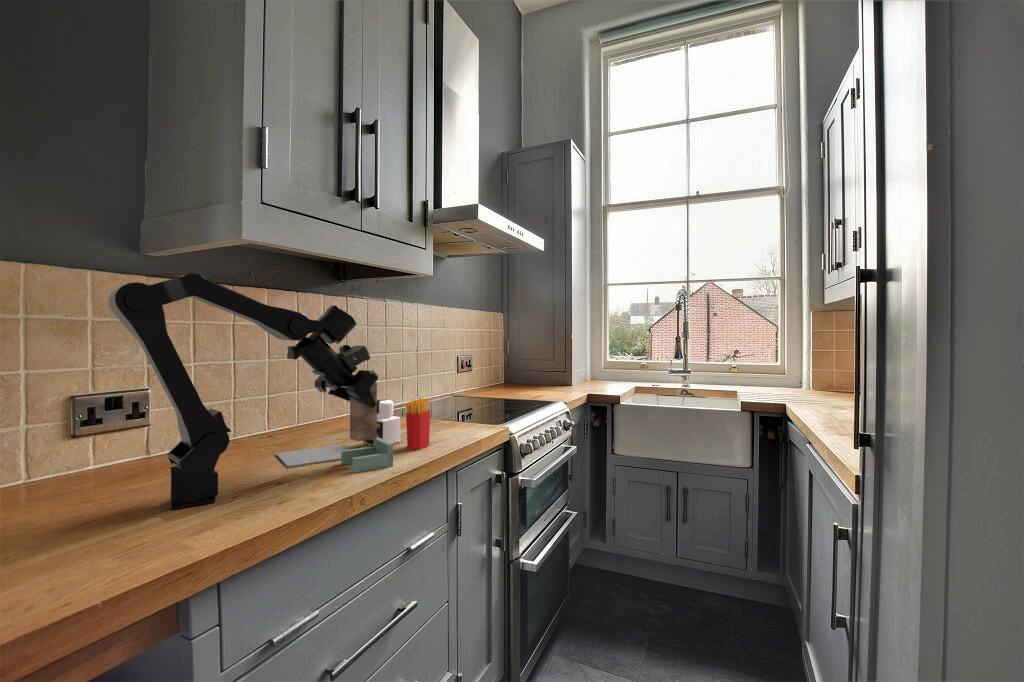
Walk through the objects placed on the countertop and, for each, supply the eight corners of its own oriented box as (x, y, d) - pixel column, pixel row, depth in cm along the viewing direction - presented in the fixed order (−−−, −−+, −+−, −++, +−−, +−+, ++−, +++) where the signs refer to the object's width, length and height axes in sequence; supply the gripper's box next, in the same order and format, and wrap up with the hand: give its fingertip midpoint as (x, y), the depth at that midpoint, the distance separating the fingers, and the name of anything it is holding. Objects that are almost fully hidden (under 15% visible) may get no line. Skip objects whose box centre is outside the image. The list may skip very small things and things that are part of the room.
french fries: (420, 442, 128) (420, 396, 128) (433, 444, 126) (433, 397, 126) (401, 450, 119) (401, 400, 119) (415, 451, 117) (415, 401, 117)
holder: (353, 472, 99) (353, 449, 99) (341, 463, 106) (341, 442, 106) (392, 466, 104) (393, 444, 104) (378, 457, 111) (378, 437, 111)
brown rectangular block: (357, 441, 103) (357, 383, 103) (349, 438, 106) (349, 382, 106) (376, 438, 106) (376, 382, 106) (368, 435, 109) (368, 381, 109)
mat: (287, 467, 102) (287, 466, 102) (275, 455, 114) (275, 453, 114) (359, 457, 112) (359, 455, 112) (341, 446, 123) (341, 444, 123)
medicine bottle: (362, 444, 125) (363, 400, 125) (381, 439, 132) (381, 397, 132) (382, 447, 122) (382, 402, 122) (400, 442, 128) (400, 399, 128)
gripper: (370, 332, 97) (413, 381, 105) (327, 333, 109) (368, 377, 118) (335, 371, 91) (383, 420, 99) (293, 367, 103) (339, 411, 112)
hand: (368, 405), depth 107 cm, fingers closed on brown rectangular block, 5 cm apart
